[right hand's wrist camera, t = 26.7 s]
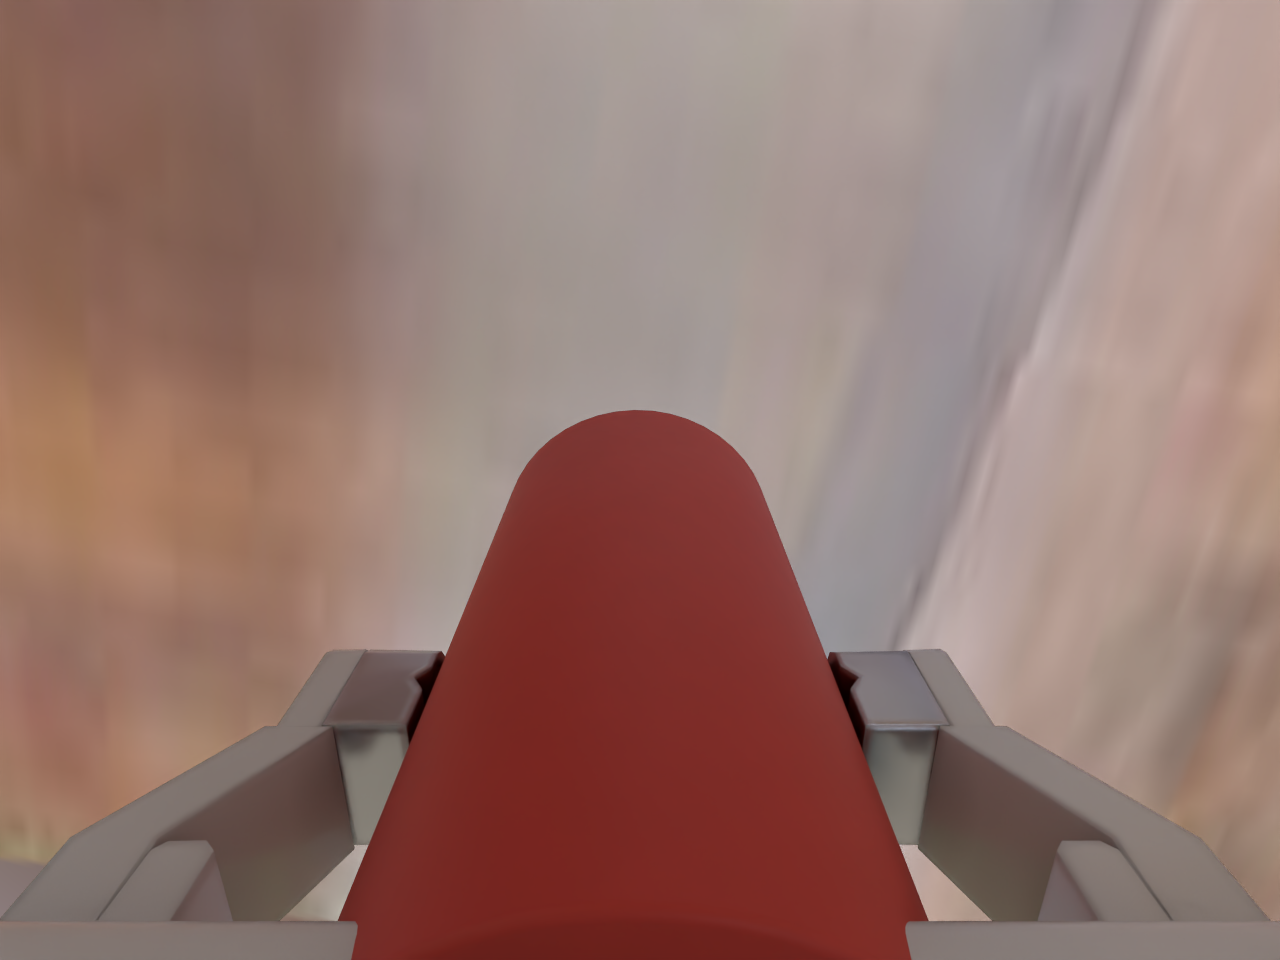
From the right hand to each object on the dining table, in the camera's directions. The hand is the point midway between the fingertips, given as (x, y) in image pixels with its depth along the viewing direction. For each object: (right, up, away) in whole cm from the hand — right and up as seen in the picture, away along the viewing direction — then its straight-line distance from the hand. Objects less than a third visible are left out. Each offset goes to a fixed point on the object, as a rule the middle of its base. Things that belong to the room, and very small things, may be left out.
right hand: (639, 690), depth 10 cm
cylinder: (0, +2, +5) cm, 5 cm away
